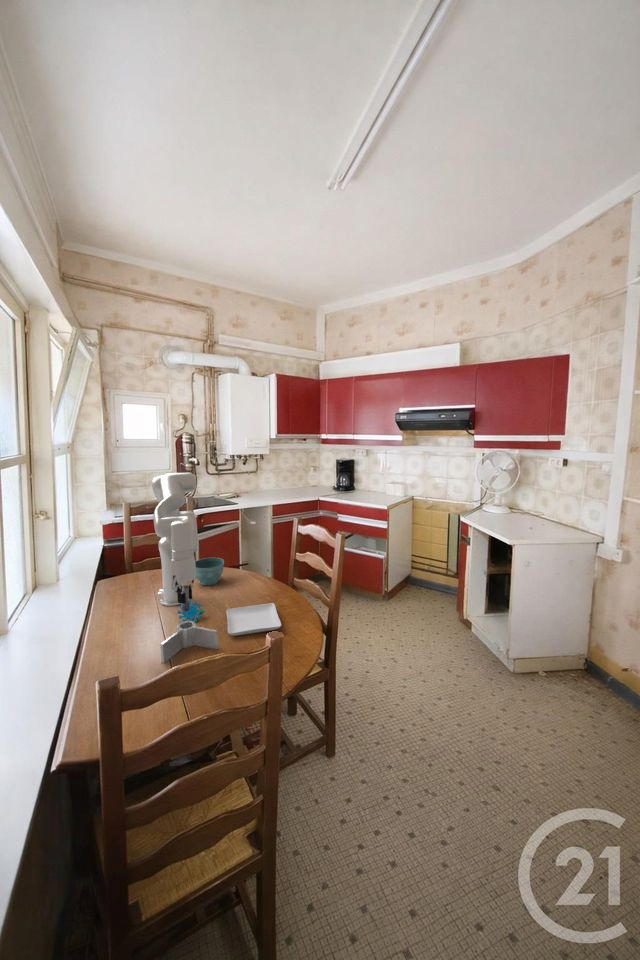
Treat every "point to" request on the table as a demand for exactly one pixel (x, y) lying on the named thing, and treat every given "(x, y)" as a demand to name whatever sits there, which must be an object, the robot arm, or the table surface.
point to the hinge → (188, 639)
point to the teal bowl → (209, 570)
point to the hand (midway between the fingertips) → (185, 600)
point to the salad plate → (252, 619)
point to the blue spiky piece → (191, 612)
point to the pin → (186, 606)
